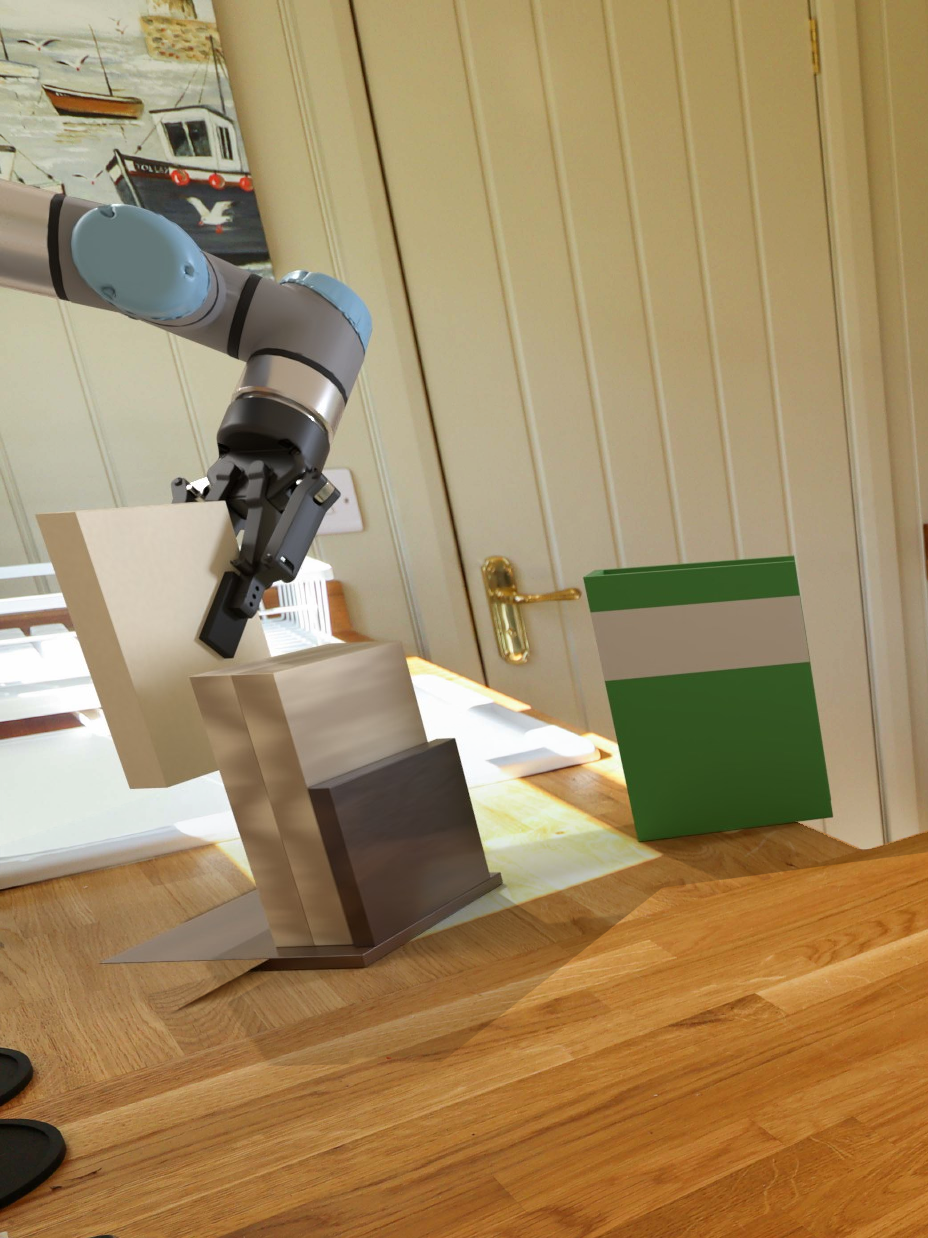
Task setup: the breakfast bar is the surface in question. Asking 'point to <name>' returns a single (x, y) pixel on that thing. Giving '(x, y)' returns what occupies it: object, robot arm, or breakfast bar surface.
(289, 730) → the book rack
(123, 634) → the thin cream book
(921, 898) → the breakfast bar surface
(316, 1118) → the breakfast bar surface
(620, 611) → the hardback book
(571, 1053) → the breakfast bar surface
